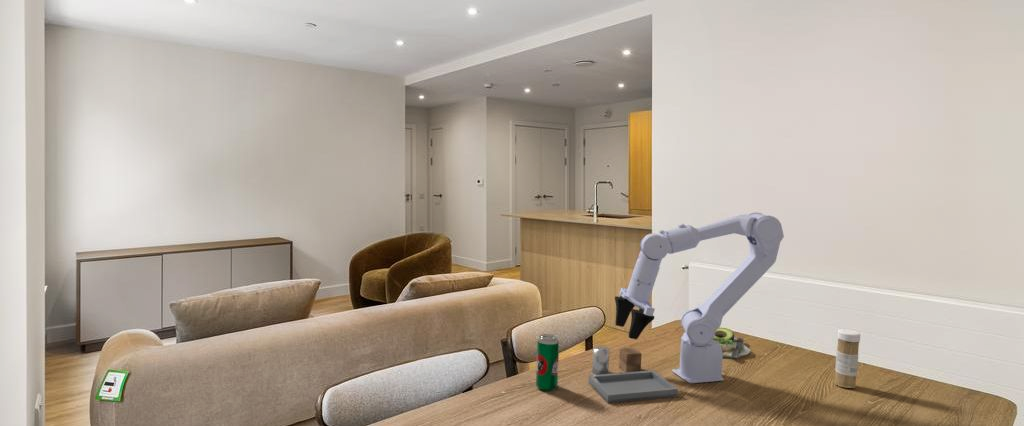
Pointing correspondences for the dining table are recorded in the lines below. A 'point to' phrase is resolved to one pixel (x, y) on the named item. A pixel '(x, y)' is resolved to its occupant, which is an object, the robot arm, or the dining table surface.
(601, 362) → the steel cylinder
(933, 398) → the dining table surface
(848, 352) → the sprinkles bottle
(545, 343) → the soda can
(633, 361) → the walnut block
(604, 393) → the tray
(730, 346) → the salad plate
